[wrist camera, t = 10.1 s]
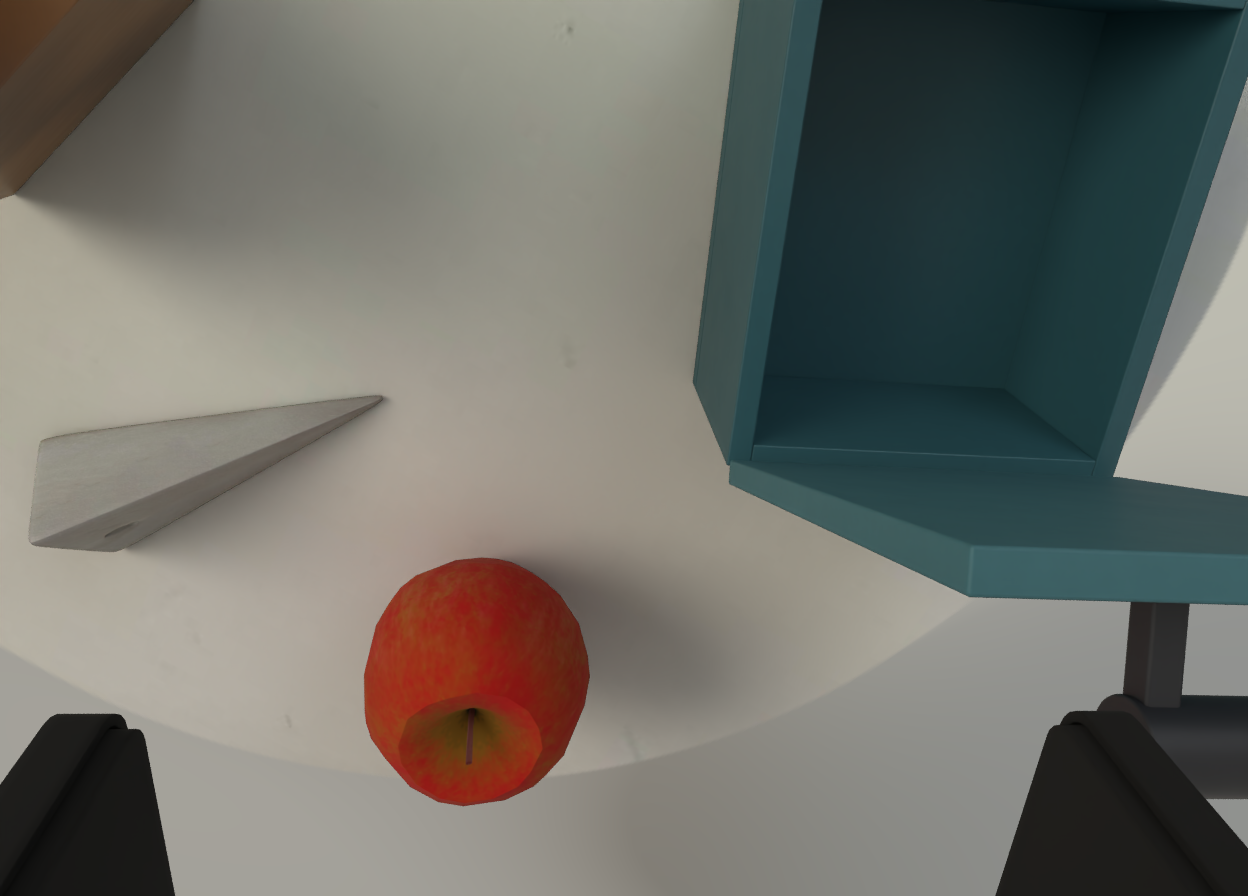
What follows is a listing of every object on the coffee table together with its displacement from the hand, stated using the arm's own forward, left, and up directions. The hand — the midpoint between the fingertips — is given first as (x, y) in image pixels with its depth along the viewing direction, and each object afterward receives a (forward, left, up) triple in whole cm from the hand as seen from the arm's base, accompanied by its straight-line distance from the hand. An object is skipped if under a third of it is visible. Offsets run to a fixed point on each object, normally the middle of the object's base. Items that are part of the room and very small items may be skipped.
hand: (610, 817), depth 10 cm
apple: (+12, +9, -28) cm, 32 cm away
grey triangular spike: (+15, -4, -28) cm, 32 cm away
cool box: (-11, +7, -28) cm, 31 cm away
